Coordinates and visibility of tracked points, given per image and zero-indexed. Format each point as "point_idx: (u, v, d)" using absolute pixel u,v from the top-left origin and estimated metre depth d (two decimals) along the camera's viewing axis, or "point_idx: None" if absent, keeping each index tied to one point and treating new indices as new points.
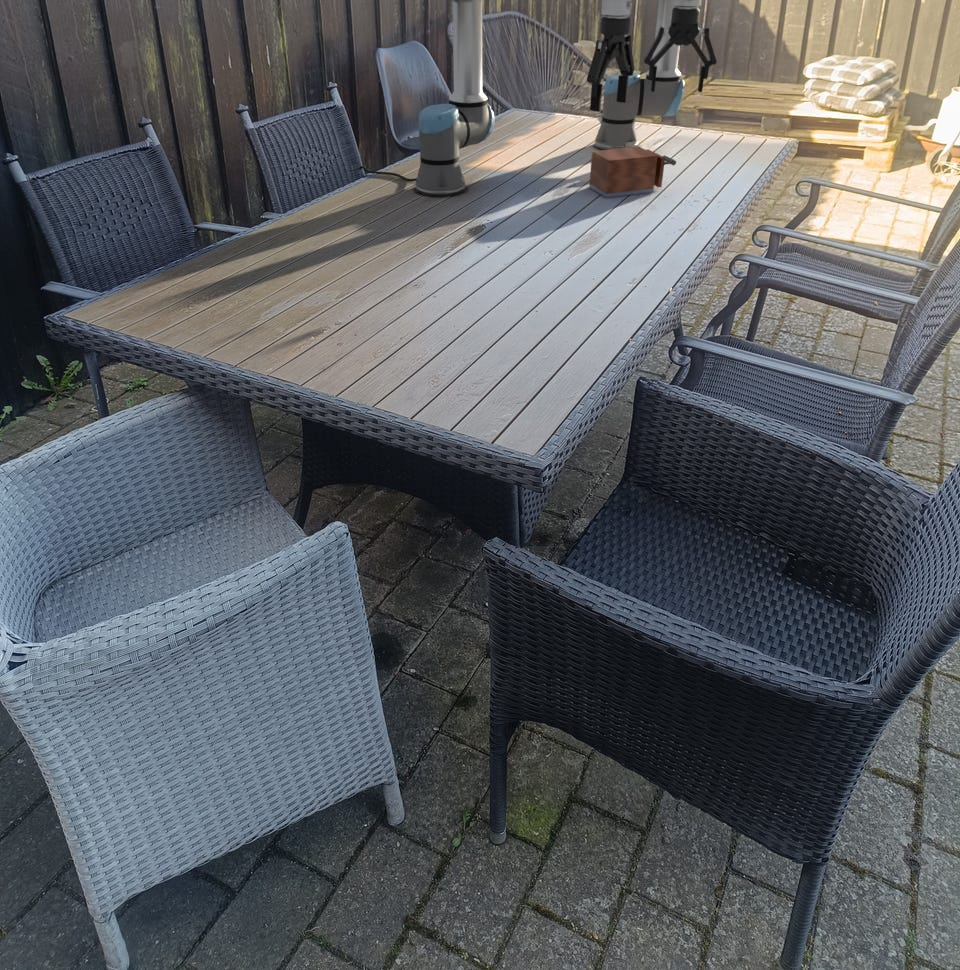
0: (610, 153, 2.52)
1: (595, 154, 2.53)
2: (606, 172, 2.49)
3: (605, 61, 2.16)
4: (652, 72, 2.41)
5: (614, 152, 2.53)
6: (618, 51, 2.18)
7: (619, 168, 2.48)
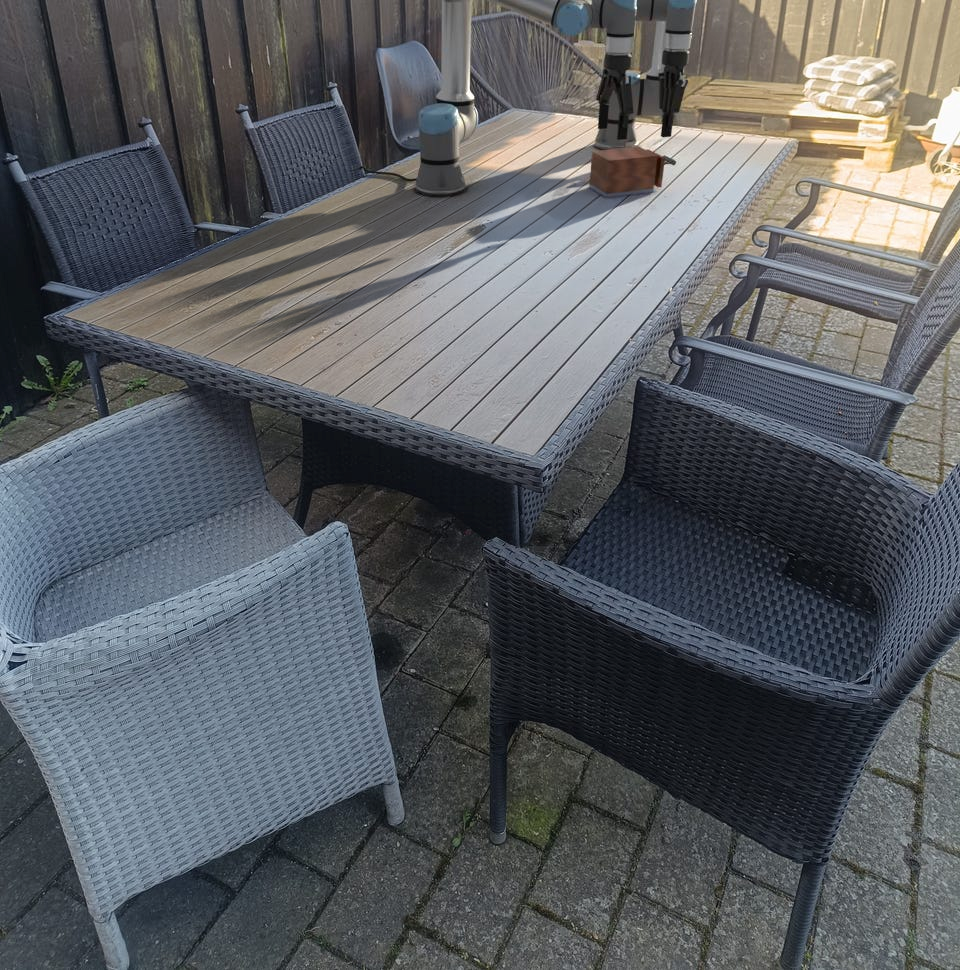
0: (610, 153, 2.52)
1: (595, 154, 2.53)
2: (606, 172, 2.49)
3: None
4: None
5: (614, 152, 2.53)
6: None
7: (619, 168, 2.48)
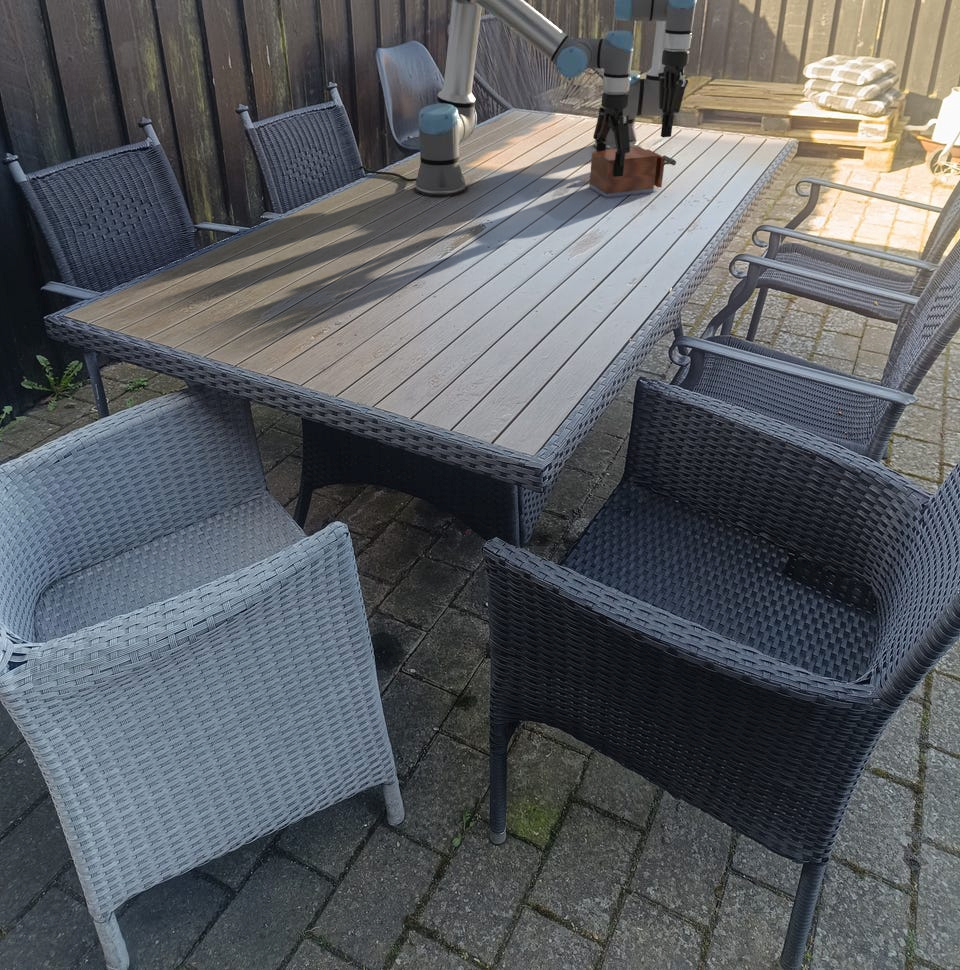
0: (610, 153, 2.52)
1: (595, 154, 2.53)
2: (606, 172, 2.49)
3: None
4: None
5: (614, 152, 2.53)
6: None
7: None
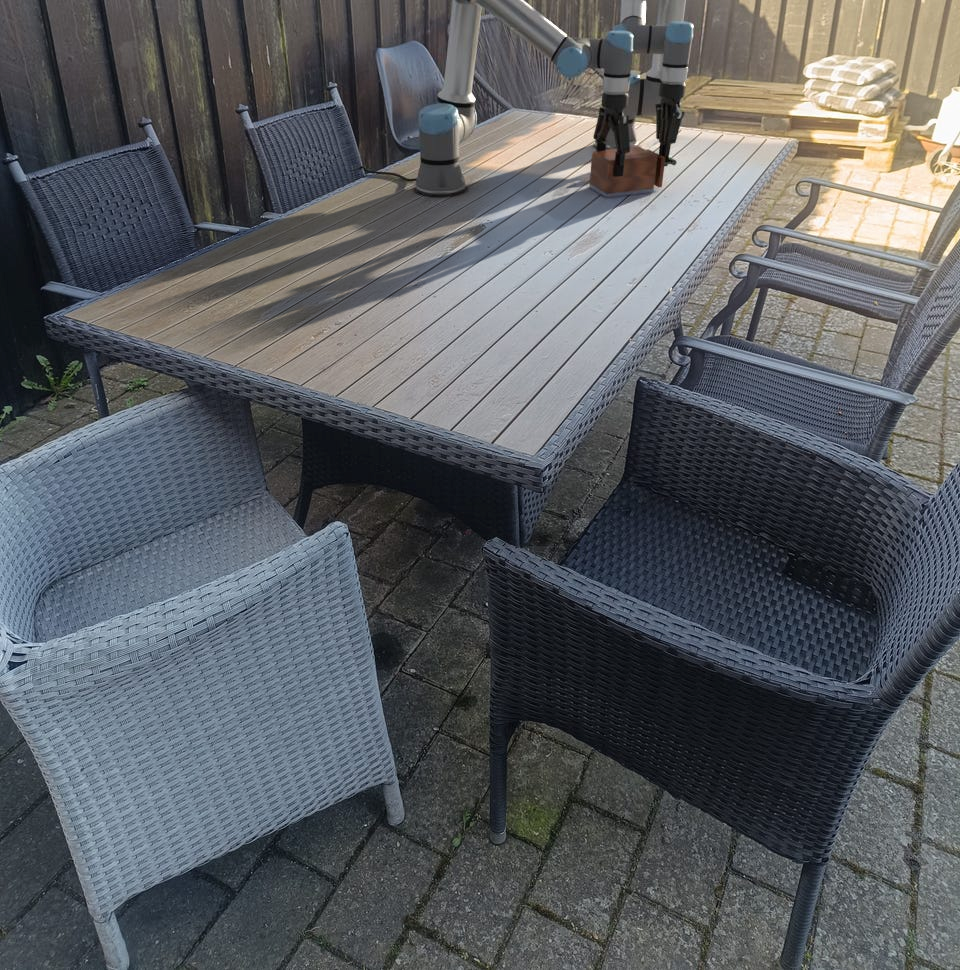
0: (610, 153, 2.52)
1: (595, 154, 2.53)
2: (606, 172, 2.49)
3: None
4: None
5: (614, 152, 2.53)
6: None
7: None
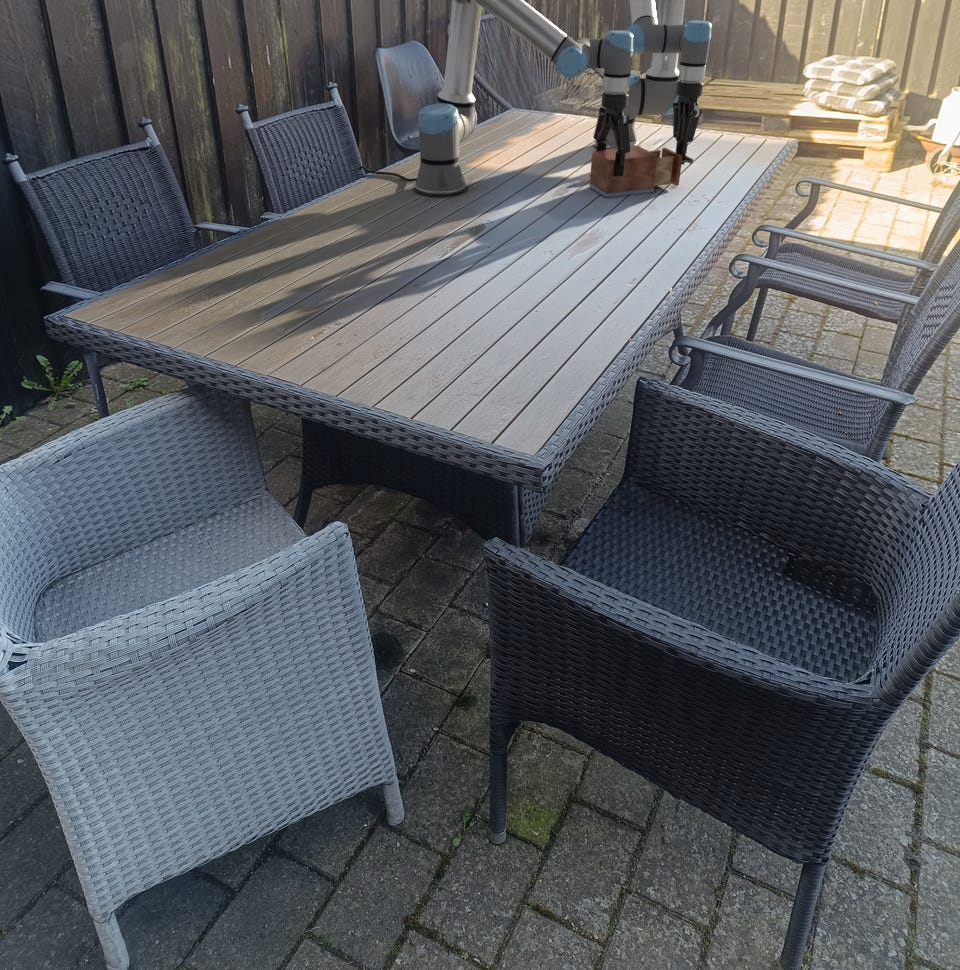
0: (610, 153, 2.52)
1: (595, 154, 2.53)
2: (606, 172, 2.49)
3: None
4: None
5: (614, 152, 2.53)
6: None
7: None
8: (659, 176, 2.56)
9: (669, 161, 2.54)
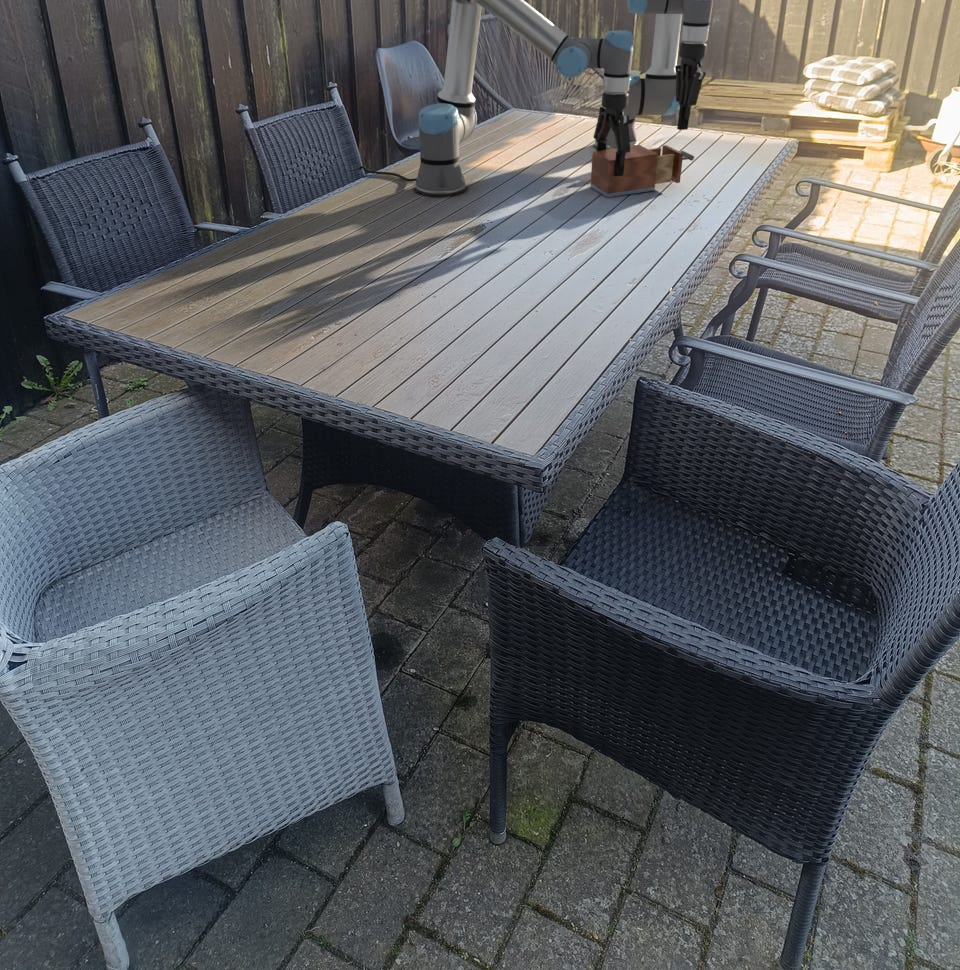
0: (610, 153, 2.52)
1: (595, 154, 2.53)
2: (607, 172, 2.49)
3: None
4: None
5: (614, 151, 2.53)
6: None
7: None
8: (660, 174, 2.56)
9: (669, 159, 2.54)
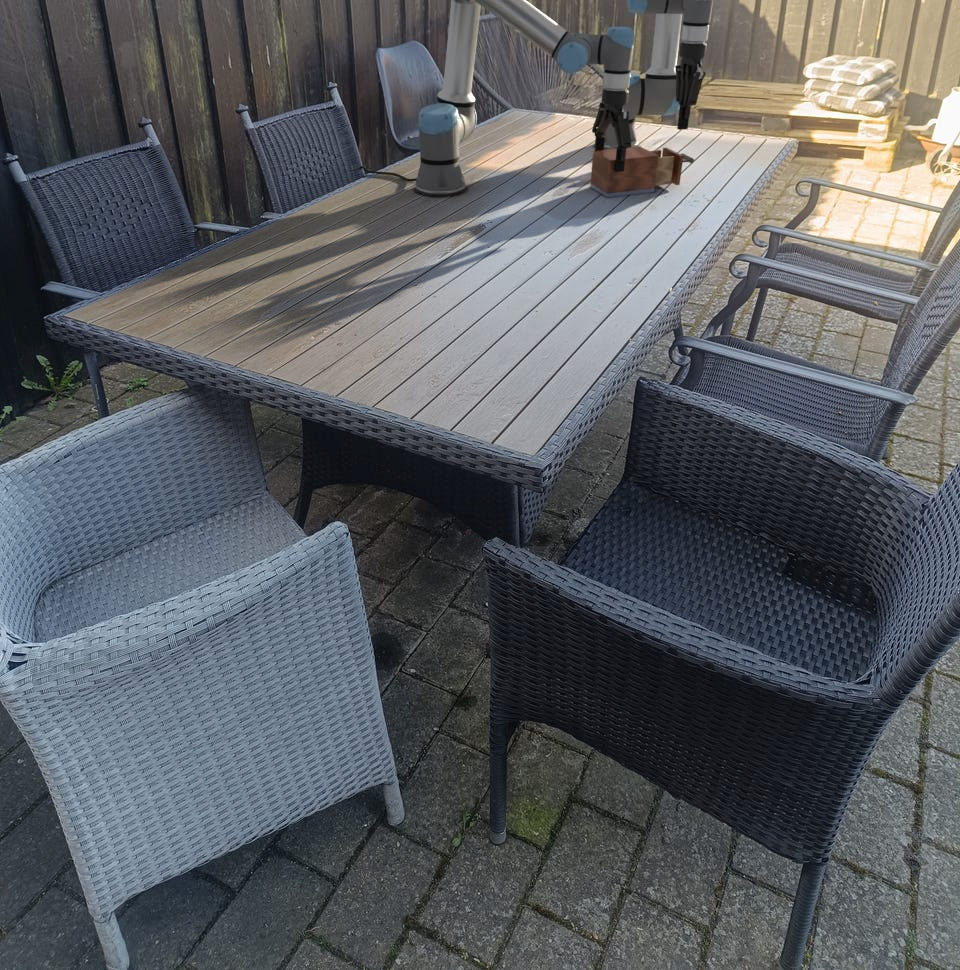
0: (611, 153, 2.53)
1: (596, 154, 2.53)
2: (607, 172, 2.49)
3: None
4: None
5: (615, 152, 2.53)
6: None
7: None
8: (660, 176, 2.56)
9: (670, 161, 2.55)
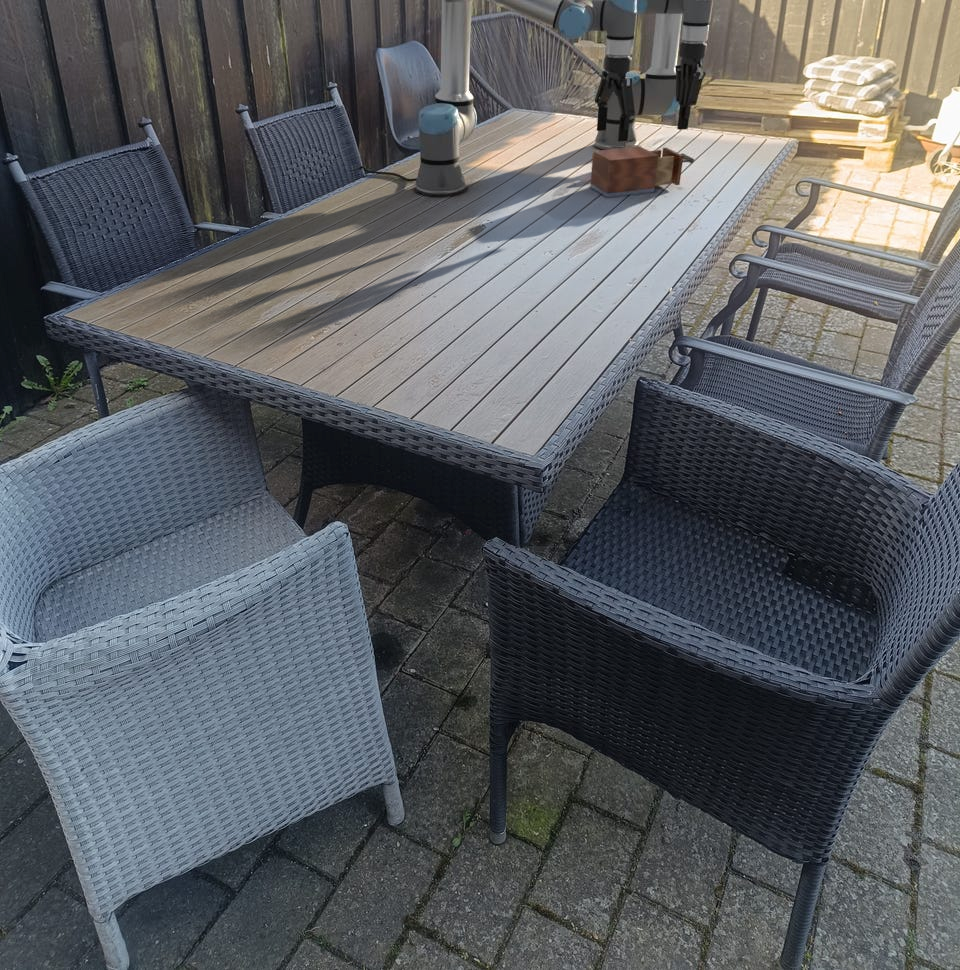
0: (611, 153, 2.53)
1: (596, 154, 2.53)
2: (607, 172, 2.49)
3: None
4: None
5: (615, 152, 2.53)
6: None
7: (620, 168, 2.49)
8: (660, 176, 2.56)
9: (670, 161, 2.55)
